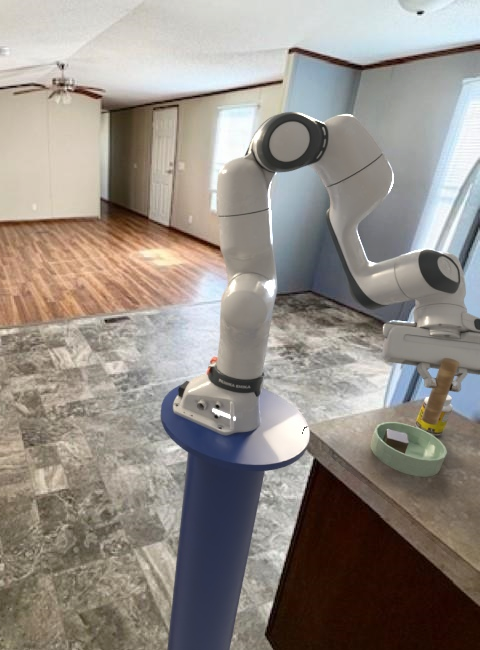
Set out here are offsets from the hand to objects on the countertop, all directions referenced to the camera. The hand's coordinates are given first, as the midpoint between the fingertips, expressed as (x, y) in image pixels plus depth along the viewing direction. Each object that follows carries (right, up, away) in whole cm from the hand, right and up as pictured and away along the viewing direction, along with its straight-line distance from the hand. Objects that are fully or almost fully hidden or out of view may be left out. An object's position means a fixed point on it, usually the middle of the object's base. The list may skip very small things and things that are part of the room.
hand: (442, 389), depth 84 cm
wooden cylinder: (0, -7, +4) cm, 8 cm away
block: (0, -16, +14) cm, 22 cm away
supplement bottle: (+15, -14, +22) cm, 30 cm away
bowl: (+2, -17, +13) cm, 22 cm away
